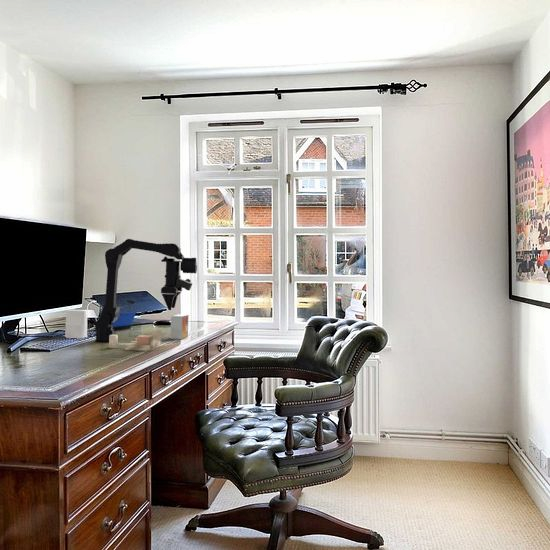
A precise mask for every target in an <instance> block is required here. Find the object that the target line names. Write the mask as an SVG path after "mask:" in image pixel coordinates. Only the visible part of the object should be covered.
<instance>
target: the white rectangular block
mask: <svg viewBox="0 0 550 550" xmlns="http://www.w3.org/2000/svg"><path fill="white" fill-rule="evenodd" d="M64 334H65V335H64V336H65V337H66V338H65V339H71V338H78V339H85V338H84V337H86V338H88V309H66V310H65V332H64Z"/></svg>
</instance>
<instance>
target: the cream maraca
mask: <svg viewBox="0 0 550 550" xmlns="http://www.w3.org/2000/svg"><path fill="white" fill-rule="evenodd" d="M150 335H151V334H150ZM150 335H147V334H139V335H137V336H136V338H137V343H131V342H128V343H127V342H118V340H119V339H118V338H119V336H118V334H114V335H109V342H108V349H118V346H126V344H127V345H150Z"/></svg>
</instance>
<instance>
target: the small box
mask: <svg viewBox="0 0 550 550" xmlns="http://www.w3.org/2000/svg"><path fill="white" fill-rule="evenodd" d="M189 316H190V315H189V314H181V313H180V314H179V313H177V314H175V315H171V316H170V339H171V340H172V339H173V340H183V339H186V338H189Z"/></svg>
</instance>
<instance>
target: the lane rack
mask: <svg viewBox="0 0 550 550" xmlns="http://www.w3.org/2000/svg"><path fill="white" fill-rule="evenodd" d="M134 339H135V340H131V341H130V343H137V337H136V338H134ZM161 344H162V329H157V330H155V331H154V332H152V334H150V345H127V344H126V345H124V346H125V351H142V352H143V351H151V352H153V351H154V350H155V349H157V348H158V347H159V346H160V345H161Z"/></svg>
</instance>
